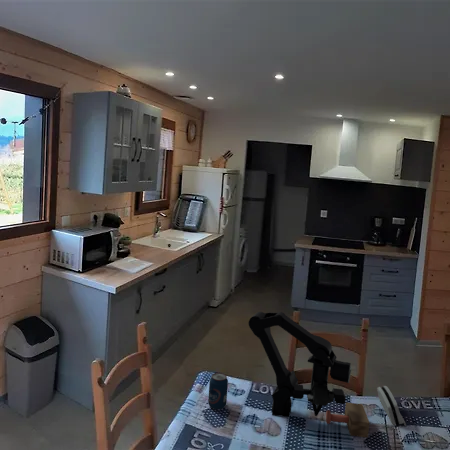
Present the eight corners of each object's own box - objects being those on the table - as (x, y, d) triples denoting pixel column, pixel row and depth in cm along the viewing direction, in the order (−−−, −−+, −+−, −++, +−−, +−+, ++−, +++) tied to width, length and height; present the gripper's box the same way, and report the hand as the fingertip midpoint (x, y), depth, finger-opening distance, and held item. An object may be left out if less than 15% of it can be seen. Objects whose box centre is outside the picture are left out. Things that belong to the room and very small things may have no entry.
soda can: (204, 406, 167) (206, 376, 165) (214, 398, 173) (216, 370, 171) (219, 413, 163) (222, 382, 161) (229, 405, 169) (231, 375, 167)
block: (350, 435, 155) (352, 420, 154) (344, 416, 167) (345, 402, 166) (367, 437, 155) (369, 422, 154) (360, 418, 166) (362, 404, 166)
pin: (327, 426, 159) (328, 414, 159) (325, 419, 164) (326, 408, 163) (354, 429, 159) (355, 417, 158) (351, 422, 163) (353, 411, 162)
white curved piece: (406, 426, 163) (400, 402, 162) (393, 429, 163) (387, 404, 162) (392, 402, 179) (386, 379, 178) (380, 404, 180) (374, 382, 179)
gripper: (295, 383, 152) (291, 425, 154) (350, 389, 151) (345, 431, 153) (293, 368, 163) (289, 407, 165) (344, 374, 162) (340, 413, 164)
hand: (315, 415), depth 162 cm, fingers closed
